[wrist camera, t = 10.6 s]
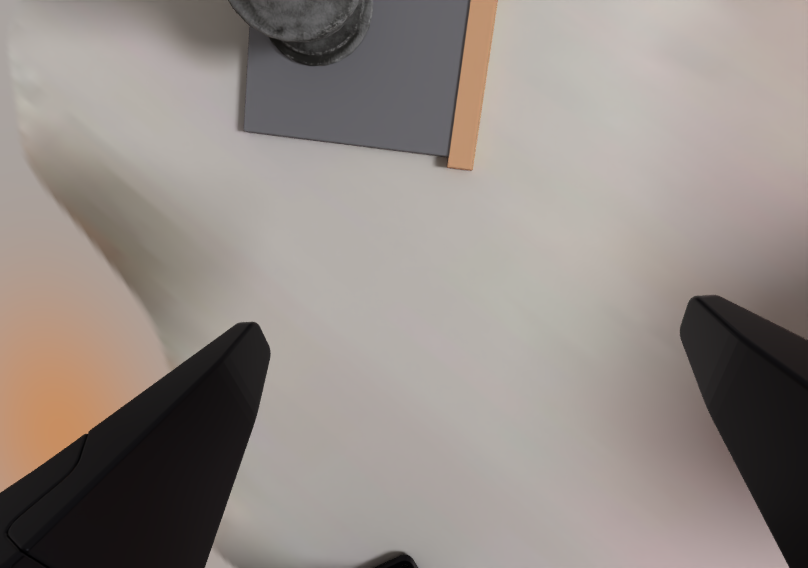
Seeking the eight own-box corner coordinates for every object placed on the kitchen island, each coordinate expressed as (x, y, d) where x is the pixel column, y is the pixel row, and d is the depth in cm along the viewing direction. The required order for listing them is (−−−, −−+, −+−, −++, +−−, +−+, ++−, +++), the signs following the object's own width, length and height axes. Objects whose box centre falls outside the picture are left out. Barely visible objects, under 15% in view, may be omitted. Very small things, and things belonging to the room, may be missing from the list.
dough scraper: (516, -134, 18) (519, -144, 17) (471, 170, 20) (472, 169, 20) (264, -163, 18) (259, -173, 18) (246, 142, 20) (242, 140, 20)
